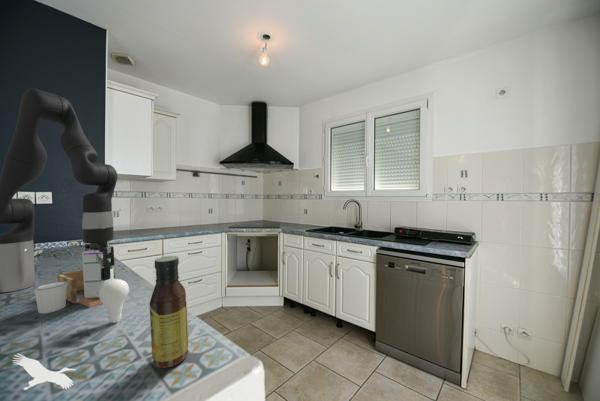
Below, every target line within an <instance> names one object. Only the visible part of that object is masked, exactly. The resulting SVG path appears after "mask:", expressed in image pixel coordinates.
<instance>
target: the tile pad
mask: <svg viewBox="0 0 600 401" xmlns="http://www.w3.org/2000/svg"><path fill="white" fill-rule="evenodd" d="M78 303H79V304H80V305H83V306H85V307H87V308H88V309H90V308H94V307H97V306H101V305H104V304H103V303H102V301H101V300H100V298H99V297H95V298H85V296H84V297H81V298H79V299H78Z"/></svg>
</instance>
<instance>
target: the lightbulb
mask: <svg viewBox="0 0 600 401" xmlns="http://www.w3.org/2000/svg"><path fill="white" fill-rule="evenodd" d="M129 291H130V286H129V284H128V283H127V281H125V280H123V279H120V278H119V279H118V278H116V279H114V280H110V281H108V282H106V283H105V284H104V285H103V286H102V287H101V289H100V291H99V298H100V300H101V301H102V303H103V304H102V305H104V306H105V309H106V313H107V315H108V322H110V323H113V324H116V323H118V322H119V321H121V319H122V313H123V312H122V311H123V308H124V302H125V300H126V298H127V297H128V295H129Z"/></svg>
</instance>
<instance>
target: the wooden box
mask: <svg viewBox="0 0 600 401" xmlns="http://www.w3.org/2000/svg"><path fill="white" fill-rule="evenodd" d="M57 282H67V283H68V284H67V296H66V301H68V302H70V303H72V304H76V303H78V294H77V293H78V292H80V291H84V277H83V269H79V270H74V271H70V272H65V273H60V274H57Z"/></svg>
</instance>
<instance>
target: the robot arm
mask: <svg viewBox="0 0 600 401" xmlns="http://www.w3.org/2000/svg"><path fill="white" fill-rule="evenodd" d="M18 110H19V111H18V115H17V121H16V124H15V125H16V126H15V130H14V133H13V137H12V139H11V142H10V145H9V147H8V149H7V153H6V155H5V158H4V161H3V166H2V170H1V173H0V225H10V224H15V226H14V227H13V228H12V229H10V230H7V231H5V232H3V233H0V293H1V294H2V293H10V292H16V291H21V290H25V289H28V288H31V287H33V286H35V285H36V281H35V278H36V277H35V274H36V272H35V258H34V257H35V256H34V255H35V253H34V252H35V251H34V250H35V249H34V234H35V216H36V215H35V214H36V213H35V205H34V204H35V203H34V202H33V201H32V200H31V199H29V198H14V196H15V195H16V194H17V193H18V192H19V191H20V190H21V189H23V188H24V187H26V186H27V185H29V184H31V183H33V181H35V180H36V179H38V178H39V177H40V176H41V175H42V174H43V172H44V169H45V166H46V165H47V164H46V163H47V161H48V153H47V151H46V148H45V147H44V145H43V143H42V141H41V140H40V137H39V135H38V132H37V131H38V130H37V128H38V122H39V120H43V121H48V122H52V123H58V124H60V126H62V127H63V129H64V130H63V132H62V133H61V136H60V146H61V148H62V150H63V151H64V153H65V154H66V155H67V157H68V158H69V160H70V163H71V168H72V173H73V178H74V180H75V181H77V183H79V184H81V185H83V186H97V189H96V191H94V192H91V193H85V194H84V195H83V197H82V220H81V225H82V242H83V243H84V244H85V245H84V251H87V250H99V252H102V253H103V258H102V259H101V258H100V257H99V256H98V255H97V254H96V261H97V263H99V264H100V267H101V280H102V281H105V280H109V279H110V278H111V276H110V267H111V266H113V265H114V258H115V247H114V246H111V245H110V246H109V242H110V241H111V242H112V241H113V240H114V238H115V237H114V233H115V232H114V217H113V209H112V208H113V207H112V206H113V205H112V203H113V202H112V199H113V195H114V192H115V188H116V184H117V182H118V172H117V170H116V169H115V167H114V166H113V165H111V164H106V163H99V162H98V160H99V155H98V153H97V151H96V149H95V148H94V146H93V145H92V144H91V142H90V141H89V139H88V138H87V136H86V135H85V133H84V131H83V129H82V126H81V124H80V121H79V119H78V115H77V114H76V112H75V109H74V107H73V105H72V103H71V102H70V101H69V100H68V98H65V97H63V96H60V95H58V94H55V93H52V92H47V91H45V90H41V89H37V88H33V87H30V88H27V89H26V90H25V92H23V94H22V97H21V100H20V104H19V109H18ZM94 253H95V251H94ZM110 259H111V261H110Z"/></svg>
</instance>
